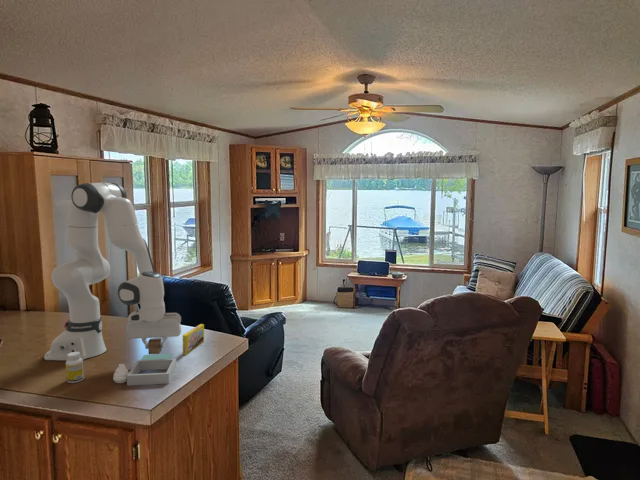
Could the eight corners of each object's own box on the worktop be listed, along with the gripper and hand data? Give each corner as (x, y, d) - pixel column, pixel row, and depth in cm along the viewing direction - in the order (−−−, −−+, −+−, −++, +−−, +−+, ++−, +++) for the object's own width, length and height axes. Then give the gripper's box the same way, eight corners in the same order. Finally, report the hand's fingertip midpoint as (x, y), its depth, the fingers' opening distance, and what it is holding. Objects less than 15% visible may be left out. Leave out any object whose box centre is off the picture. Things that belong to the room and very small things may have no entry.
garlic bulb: (131, 361, 164) (125, 367, 158) (132, 377, 165) (126, 383, 159) (116, 361, 164) (109, 367, 158) (117, 377, 165) (110, 383, 159)
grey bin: (127, 385, 158) (126, 375, 157) (138, 369, 171) (137, 360, 171) (169, 383, 159) (168, 373, 159) (176, 367, 173) (176, 358, 173)
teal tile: (136, 367, 173) (136, 365, 173) (144, 356, 184) (144, 354, 184) (166, 366, 175) (166, 364, 175) (172, 355, 185) (172, 353, 185)
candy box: (187, 355, 186) (186, 335, 185) (182, 354, 187) (181, 335, 186) (204, 341, 202) (204, 323, 201) (200, 341, 202) (199, 323, 201)
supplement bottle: (71, 377, 165) (69, 351, 163) (86, 376, 165) (85, 350, 164) (64, 383, 159) (62, 356, 158) (80, 383, 160) (78, 356, 158)
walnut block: (151, 350, 181) (150, 338, 180) (161, 350, 181) (160, 337, 180) (148, 354, 177) (148, 341, 176) (159, 353, 177) (158, 341, 177)
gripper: (182, 310, 181) (183, 343, 183) (128, 312, 179) (130, 346, 181) (179, 314, 175) (180, 349, 177) (123, 317, 173) (125, 352, 174)
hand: (155, 347), depth 179 cm, fingers closed on walnut block, 4 cm apart
